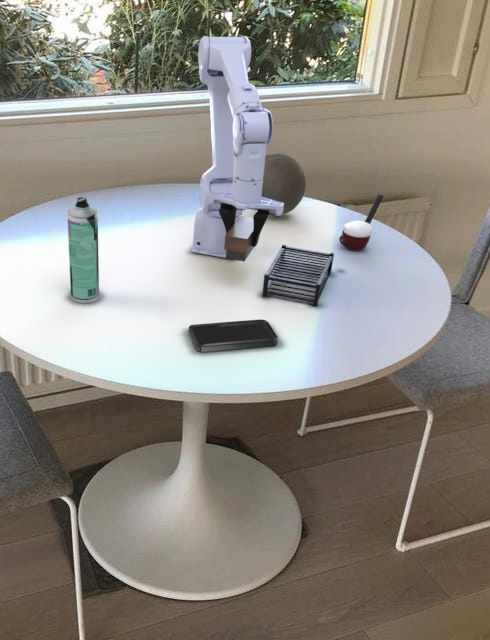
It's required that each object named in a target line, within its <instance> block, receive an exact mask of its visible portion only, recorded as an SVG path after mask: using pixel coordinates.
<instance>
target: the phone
mask: <svg viewBox="0 0 490 640" xmlns="http://www.w3.org/2000/svg"><path fill="white" fill-rule="evenodd" d="M188 335H189V337H190V340H191V341H192V344H193V347H194V349H195V350H196V351H197V352H200V353H207V352H208V353H209V352H218V351H219V352H220V351H231V350H243V349H254V348H255V349H257V348H267V347H268V348H269V347H275V346H278V342H279V337H278V335H277V333H276V332H275V331H274V329H273V328H272V325H271V324H270V323H269V321H268V320H266V319H264V318H263V319H262V318H261V319H248V320H236V321H233V320H232V321H223V322H222V321H221V322H209V323H208V322H207V323H196V324H195V323H194V324H190V325H188Z"/></svg>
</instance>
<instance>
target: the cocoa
mask: <svg viewBox="0 0 490 640" xmlns="http://www.w3.org/2000/svg"><path fill="white" fill-rule="evenodd" d="M383 198H384V194H382V193H380V192H379V193H378V194H377V195H376V198H375V200H374V202H373V204H372V206H371V208H370V210H369V213H368V215H367V217H366V218H365V221H363V220H353V221H349V222H346V223H345V224H343V230H342V233H341V234H340V236H339V239H338V241H339V243H340V245H341V246H343V247H345V248H346V249H348V250H351V251H361V250H364V249H365V248H366V247H367V245H368V244H369V242H370V239H371V235H372V234H373V226H372V225H371V223H372V221H373V219H374V217H375V215H376V213H377V211H378V209H379V206H380V204H381V203H382V200H383Z"/></svg>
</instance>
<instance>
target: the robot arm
mask: <svg viewBox="0 0 490 640" xmlns="http://www.w3.org/2000/svg"><path fill="white" fill-rule="evenodd" d="M197 52H198V54H197V57H198V59H197V60H198V75H199V80H200V82H201V83H202V84H204V85H206V86H207V90H208V95H209V115H210V133H211V134H210V136H211V157H212V166H211V167H210V168H209V169H208V170H206V171H205V172H204V173H203V174H202V176H201V178H200V188H199V204H200V208H198V210H197V212H196V214H195V218H194V224H193V225H194V226H193V239H192V240H193V241H192V249H191V252H192V253H195V254H199V255H200V254H201V255H206V256H211V257H218V258H223V259H227V258H226V250H224V245H225V235H226V234H227V233H228V231H229V230H230V229H231V227H232V226H233V225H234V224H235V222H236V221H237V220H238V218H239V217H240V216H243V212H245V211H246V210H252V211H256V212H255V213H254V214H253V217H252V218H253V220H254V229H253V238H252V247H254V248H256V247H257V245H258V243H259V239H260V236H261V233H262V230H263V228H264V226H265V224H266V222H267V221H268V218H269V217H270V213H276V216H280V217H281V216H282V215H283V214H282V213H283V208H284V203H282V202H277V201H274V200H270V199H267V198H264V197H261V196H262V186H263V176H264V166H265V156H266V155H267V145H268V144H270V143H271V142H272V139H273V135H274V119H273V116H272V115H273V114H272V112H271V111H270V110H268V109H267V108H266V107H265V108H264V107H263V104H262V102H261V97H260V95H259V92H258V89H257V87H256V86H255V85H254V84H253V83H250V81H249V75H248V71H247V70H248V68H249V66H250V63H251V59H252V43H251V40H250V39H249V38H248V36H247V35H244V36H207V35H203V36H202V37H201V39H200V41H199V44H198V51H197ZM281 214H282V215H281Z"/></svg>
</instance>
